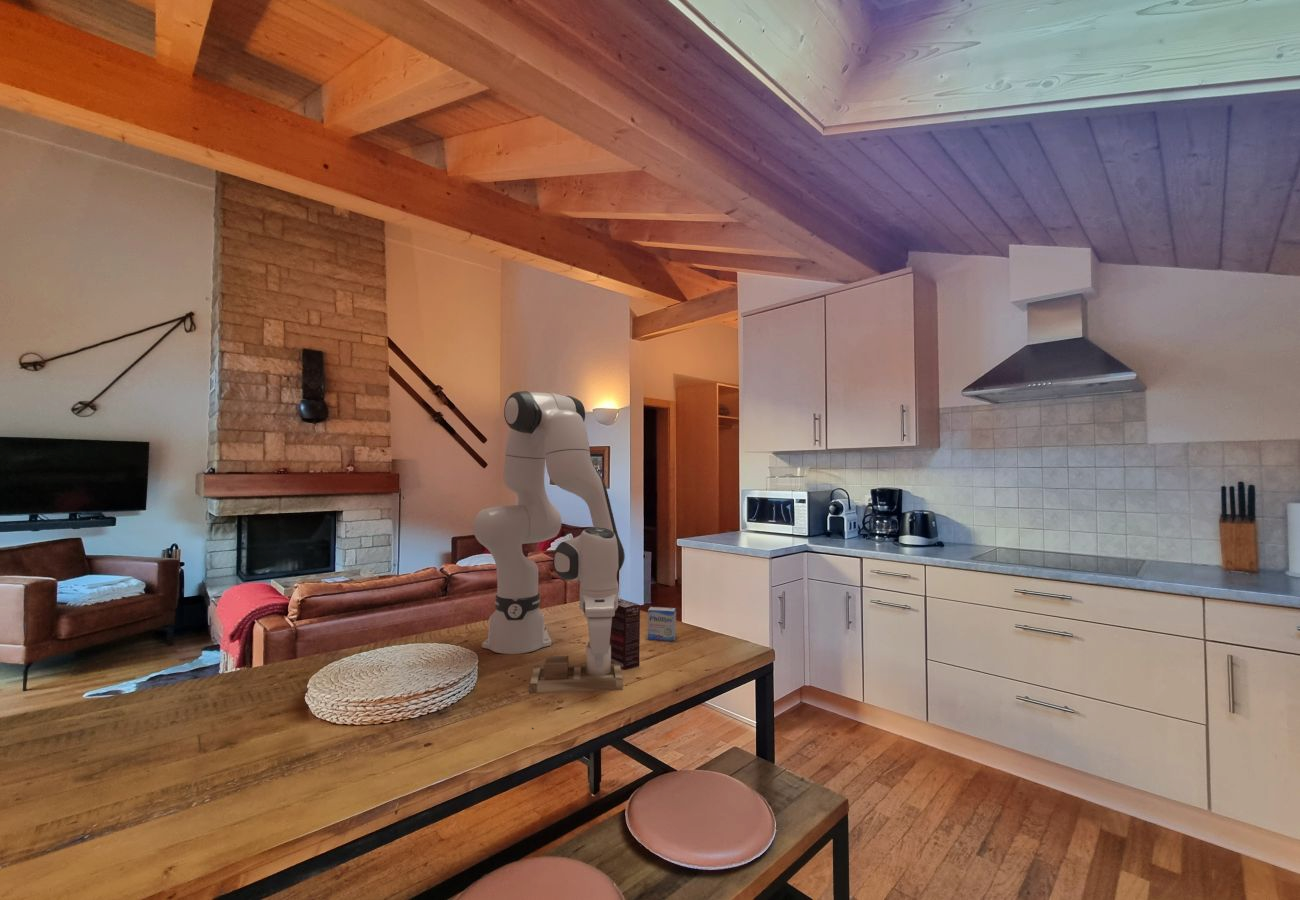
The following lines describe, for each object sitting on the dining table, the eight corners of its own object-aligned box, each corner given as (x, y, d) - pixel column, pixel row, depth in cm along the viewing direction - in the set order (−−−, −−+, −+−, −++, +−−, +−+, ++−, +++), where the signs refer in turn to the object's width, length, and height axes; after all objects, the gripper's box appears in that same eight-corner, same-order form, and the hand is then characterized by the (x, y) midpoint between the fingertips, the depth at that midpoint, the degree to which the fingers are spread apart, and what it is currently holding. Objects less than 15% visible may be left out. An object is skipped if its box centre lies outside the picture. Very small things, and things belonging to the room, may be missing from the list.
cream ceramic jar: (586, 666, 122) (586, 639, 123) (610, 665, 123) (610, 638, 123) (586, 676, 117) (586, 647, 117) (611, 675, 117) (611, 646, 118)
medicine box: (647, 640, 152) (647, 609, 153) (649, 635, 157) (650, 605, 157) (674, 641, 151) (674, 611, 151) (676, 637, 155) (676, 607, 156)
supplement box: (640, 669, 130) (641, 604, 130) (624, 674, 127) (625, 607, 127) (619, 659, 136) (620, 597, 137) (604, 663, 133) (605, 600, 134)
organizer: (534, 679, 123) (534, 666, 123) (619, 676, 125) (619, 663, 126) (529, 697, 113) (529, 683, 113) (622, 693, 115) (622, 680, 116)
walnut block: (546, 678, 121) (546, 656, 121) (568, 677, 122) (568, 655, 122) (544, 687, 116) (544, 664, 116) (567, 686, 117) (567, 663, 117)
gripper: (585, 590, 130) (584, 646, 130) (584, 611, 110) (584, 679, 110) (610, 589, 131) (610, 645, 131) (615, 610, 111) (614, 677, 110)
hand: (598, 661), depth 120 cm, fingers closed on cream ceramic jar, 6 cm apart
